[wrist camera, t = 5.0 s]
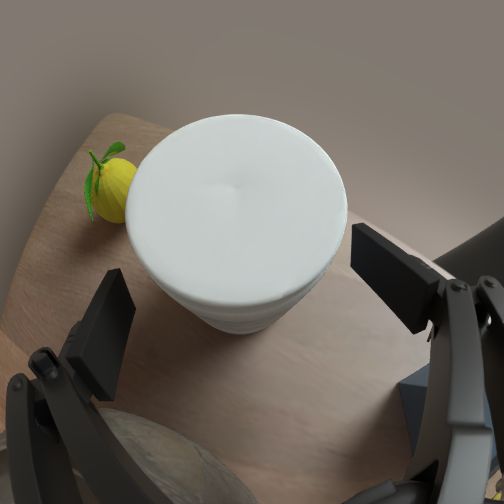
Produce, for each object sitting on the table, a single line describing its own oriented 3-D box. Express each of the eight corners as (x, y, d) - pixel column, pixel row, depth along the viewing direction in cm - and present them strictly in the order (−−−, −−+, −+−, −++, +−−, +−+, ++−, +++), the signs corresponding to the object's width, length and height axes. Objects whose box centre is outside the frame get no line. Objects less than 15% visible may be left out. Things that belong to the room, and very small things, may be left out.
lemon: (124, 251, 25) (72, 203, 15) (96, 218, 26) (47, 166, 16) (171, 204, 26) (142, 139, 17) (139, 176, 28) (106, 113, 18)
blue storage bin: (474, 329, 23) (532, 315, 14) (487, 415, 19) (538, 419, 10) (397, 382, 21) (462, 390, 12) (414, 474, 17) (464, 501, 8)
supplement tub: (300, 326, 23) (380, 296, 9) (192, 339, 22) (117, 328, 8) (283, 225, 26) (319, 107, 12) (184, 236, 25) (133, 124, 12)
